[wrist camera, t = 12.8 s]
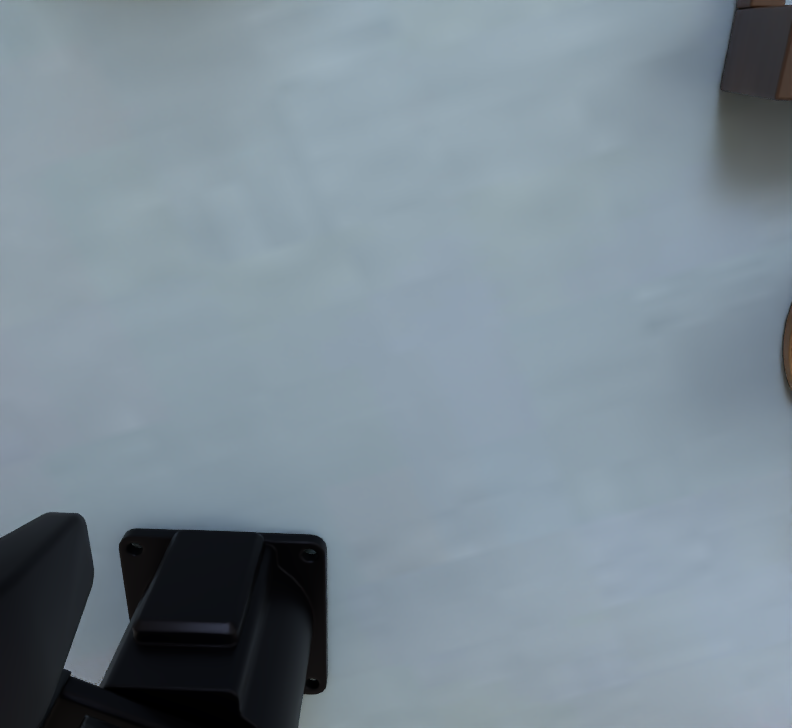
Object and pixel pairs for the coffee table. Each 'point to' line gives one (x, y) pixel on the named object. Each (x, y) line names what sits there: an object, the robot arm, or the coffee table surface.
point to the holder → (760, 50)
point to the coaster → (788, 348)
